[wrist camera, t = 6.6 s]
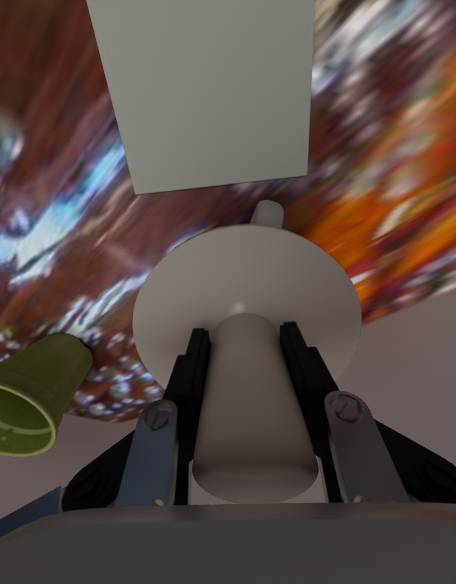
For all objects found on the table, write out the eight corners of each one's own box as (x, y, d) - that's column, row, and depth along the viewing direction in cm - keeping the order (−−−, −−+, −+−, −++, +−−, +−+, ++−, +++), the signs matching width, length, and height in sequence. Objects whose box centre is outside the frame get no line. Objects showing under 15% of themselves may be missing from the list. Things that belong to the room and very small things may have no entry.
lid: (368, 209, 10) (620, 245, 3) (339, 398, 15) (419, 556, 8) (110, 237, 11) (-77, 308, 4) (166, 407, 16) (119, 557, 9)
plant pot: (18, 312, 24) (-89, 372, 16) (106, 327, 24) (45, 392, 16) (34, 375, 28) (-46, 448, 20) (109, 386, 28) (61, 463, 20)
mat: (318, -117, 12) (320, -127, 11) (305, 175, 18) (307, 175, 17) (71, -69, 13) (67, -77, 12) (137, 194, 18) (135, 194, 18)
